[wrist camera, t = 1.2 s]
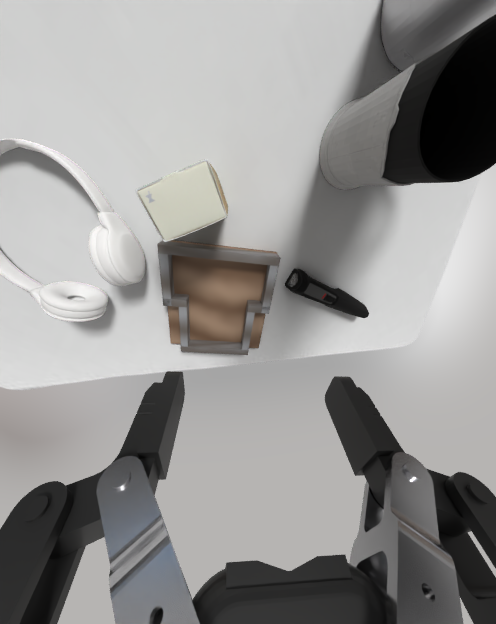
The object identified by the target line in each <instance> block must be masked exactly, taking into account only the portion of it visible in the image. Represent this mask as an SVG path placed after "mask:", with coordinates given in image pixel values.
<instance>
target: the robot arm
mask: <svg viewBox="0 0 496 624" xmlns="http://www.w3.org/2000/svg"><path fill="white" fill-rule="evenodd" d="M495 14H496V0H384V2H383V8H382V17H381V32H382V41H383V45H384V48H385V52H386V54H387V56H388V58H389V60H390V61H391V63H392V64H393V65H394V66H396V67H397V68H398V69H400V70H402V71H404V70H406V69H407V68H409V67H410V66H412V65H413V64H415V63H416V62H418V61H420V60H421V59H423V58H425V57H426V56H428V55H430V54H433V53H435V52H438V51H440V50H441V49H443V48H444V47H446V46H447V45H449V44H450V43H452V42H453V41H455V40H456V39H458V38H459V37H461V36H462V35H464V34H466V33H467V32H469V31H470V30H472V29H473V28H475V27H476V26H478V25H479V24H481V23H482V22H484V21H485V20H487V19H488V18H490V17H492V16H494V15H495ZM184 391H185V390H184V380H183V372H166V374H165V377H164V379H163V382H162V383H153V384H152V386H151V387H150V388H149V389H148V390H147V391H146V392H145V395H144V397H143V400H142V402H141V405H140V407H139V409H138V411H137V414H136V416H135V418H134V421H133V423H132V425H131V428H130V430H129V432H128V435H127V437H126V440H125V442H124V444H123V447H122V449H121V451H120V453H119V455H118V456H117V458H116V459H115V460H114V461H113V462H112V464H111V465H109V466H108V467H107V468H106V469H104V470H103V471H102V472H100V473H98V474H96V475H94V476H91V477H88V478H85V479H83V480H80V481H77V482H75V483H72V484H69V485H66V486H65V485H64V484H63V483H61V482H58V481H53V482H48V483H45V484H42V485H40V486H38V487H37V488H35V489H33V490H32V491H31V492H29V493H28V494H27V495H26V496H25V497H23V498H22V499H21V500H20V502H19V503H18V504H17V505H16V506H15V507H14V509H13V510H12V512H11V513H10V515H9V516H8V518H7V520H6V521H5V523H4V524H3V526H2V527H1V529H0V624H57V622H58V620H59V617H60V614H61V611H62V609H63V606H64V604H65V601H66V598H67V595H68V592H69V590H70V587H71V584H72V582H73V579H74V576H75V574H76V571H77V568H78V565H79V563H80V560H81V557H82V554H83V552H84V549H85V546H86V545H88V544H90V543H92V542H94V541H96V540H98V539H101V538H103V537H105V540H106V546H107V550H108V556H109V561H110V574H109V586H110V594H111V600H112V606H113V612H114V617H115V622H116V624H463V618H462V612H461V604H460V598H461V599H462V602H463V603H464V606H465V608H466V609H467V611H468V613H469V615H470V617H471V619H472V621H473V623H474V624H496V577H495V576H494V574H493V573H492V571H491V570H490V568H489V566H488V565H487V563H486V562H485V560H484V558H483V557H482V555H481V554H480V552H479V550H478V549H477V547H476V546H475V544H474V542H473V541H472V539H471V538H470V536H469V535H468V533H467V532H470V531H472V532H473V534H474V535H475V537H476V539H477V540H478V542H479V543H480V545H481V546H482V548H483V549H484V551H485V552H486V554H487V556H488V557H489V559H490V560H491V562H492V564H493V565H494V567H495V568H496V497H495V496H494V494H493V493H492V492H491V491H490V490H489V489H488V488H487V487H486V486H485V485H484V484H483V483H481V482H480V481H479V480H477V479H476V478H474V477H472V476H471V475H469V474H466V473H462V472H458V473H456V474H454V475H453V476H451V477H449V476H446V475H443V474H440V473H437V472H434V471H431V470H428V469H426V468H425V467H424V466H423V465H422V464H421V463H420V462H419V461H418V460H417V459H416V458H414V457H413V456H411V455H409V454H406V453H405V452H404V451H403V449H402V448H401V447H400V445H399V443H398V442H397V440H396V439H395V437H394V436H393V434H392V432H391V431H390V429H389V427H388V426H387V424H386V423H385V421H384V419H383V418H382V416H380V413H379V412H378V410H377V408H375V405H374V404H373V402H372V401H371V399H370V397H369V396H368V395H367V394H366V393H365V392H364V391H363V390H362V389H361V388H359V387H358V388H357V387H356V385H355V384H354V382H353V380H352V379H351V378H350V377H334V378H333V379H332V382H331V384H330V386H329V388H328V390H327V392H326V394H325V403H326V406H327V409H328V411H329V413H330V416H331V418H332V421H333V423H334V426H335V428H336V430H337V433H338V435H339V437H340V440H341V443H342V445H343V447H344V450H345V452H346V455H347V457H348V460H349V462H350V464H351V467H352V469H353V472H354V474H355V476H356V475H365V478H366V480H367V482H366V484H365V490H364V497H363V505H362V512H361V520H360V527H359V532H358V535H357V538H356V539H355V542H354V544H353V548H352V552H351V557H350V563H347V559H346V556H345V555H333V556H317V557H316V558H314V559H312V560H310V561H308V562H306V563H305V564H303V565H301V566H299V567H297V568H296V569H294V570H292V571H286V570H283V569H280V568H277V567H274V566H271V565H268V564H265V563H263V562H260V561H244V562H229V563H226V568H225V569H224V570H222V571H220V572H218V573H217V574H215V575H214V576H213V577H211V578H210V579H209V580H208V581H207V582H206V583H205V584H204V585H203V586H202V588H201V589H200V590H199V591H198V592H197V594H196V595H195V597H194V598H193V600H192V598H191V595H190V592H189V589H188V586H187V584H186V581H185V578H184V576H183V573H182V570H181V567H180V564H179V562H178V559H177V556H176V553H175V551H174V548H173V545H172V543H171V540H170V537H169V534H168V531H167V529H166V526H165V523H164V521H163V518H162V515H161V512H160V509H159V507H158V504H157V501H156V498H155V496H154V495H155V491H156V487H157V483H158V480H160V479H166V476H167V472H168V467H169V463H170V459H171V454H172V450H173V446H174V441H175V437H176V433H177V428H178V424H179V419H180V416H181V411H182V407H183V402H184V395H185V392H184ZM459 596H460V597H459Z"/></svg>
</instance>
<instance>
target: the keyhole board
mask: <svg viewBox="0 0 496 624" xmlns="http://www.w3.org/2000/svg"><path fill="white" fill-rule="evenodd" d="M157 245H158V255H159V265H160V275H161V285H162V295H163V306H168V316H169V327H170V339H171V343H174V344H181V351H182V352H201V353H220V354H239V355H248V349H249V348H259V343H260V338H261V333H262V328H263V323H264V319H265V314H269V309H270V304H271V300H272V295H273V290H274V285H275V281H276V276H277V271H278V267H279V262H280V257H279V255H278V254H277V252H271V251H263V250H254V249H245V248H237V247H228V246H219V245H211V244H202V243H193V242H185V241H176V240H171V241H168V242H164V241H163V240H162V241H161V242H160V243H158V244H157Z"/></svg>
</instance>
